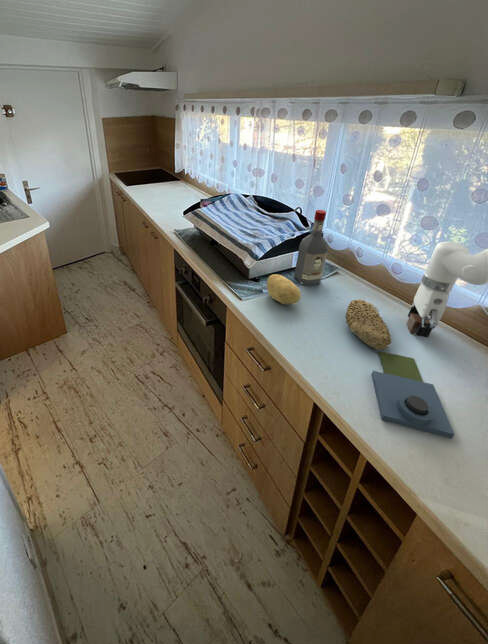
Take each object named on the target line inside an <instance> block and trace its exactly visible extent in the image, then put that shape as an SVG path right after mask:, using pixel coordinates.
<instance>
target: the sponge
mask: <svg viewBox="0 0 488 644" xmlns="http://www.w3.org/2000/svg"><path fill="white" fill-rule="evenodd" d="M379 311H380V310H379V309H378V307H376V306H375V305H374V304H373V303H371V302H368V301H365V300H364V299H360V298H358V299H353V300H350V302H349V304H348V305H347V308H346V313H345V321H346V324H347V327H348V328H349V329H350V331H351V332H352V333H353V334H354V335H356V336H357V337H358V338H359V339H360V340H361V341H362V342H364V343H365V344H366V345H367V346H369V347H371V348H373V349H375V350H387V348H388V346H389V345H390V344H392V335H391V332H390V330H389V328H388V326H387V324H386V323H385V321H384V318H382V316H381V314H380V313H379Z"/></svg>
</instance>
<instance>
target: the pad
mask: <svg viewBox="0 0 488 644" xmlns="http://www.w3.org/2000/svg"><path fill="white" fill-rule="evenodd" d="M378 354H379V358H380V363H381V367H382V370H383V373H386V374H390V375H394V376H399V377H403V378H408V379H412V380H416V381H421V382H424V380H423V378H422V375H421V373H420V369H419V368H418V365H417V363H416V360H415V358H413V357H409V356H404V355H399V354H395V353H390V352H385V351H381V350H379V351H378Z"/></svg>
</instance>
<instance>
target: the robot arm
mask: <svg viewBox="0 0 488 644" xmlns="http://www.w3.org/2000/svg"><path fill="white" fill-rule="evenodd" d="M458 278H459V279H460V280H462V281H464V282H466V283H468V284H471V285H474V286H475V285H476V286H482V285H486V284H488V248H486V249H484V250H481V251H479V252H477V253H475V254H470V250H469V248H467V246H465V245H464V244H461V243H458V242H455V241H454V242H453V241H440V242H438V243H437V244H436V245H435V247H434V249H433V252H432V254H431V256H430V259H429V261H428V264H427V265H426V268H425V270H424V273H423V275H422V277H421V280H420V285H419V287H418V289H417V290H416V291H415V295H414V297H413V302H412V303H411V307H410V309H409V311H408V315H407V317H408V318H409V316H410V314H411V313H413V314H419V315H420V316H421V317H422V325H420V326H419V328H418V330H417V332H416V334H415V335H416V336H417V337H422V338H429V337H430V335H431V332H432V330H434V329H435V328H436V327H437V326H438V325H439V322H440V321H441V320H442V318H443V315H444V312H445V310H446V307H447V305H448V300H449V297H450V293H451V292H452V290H453V288H454V286H455V284H456V282H457V279H458ZM426 316H427V317H426ZM426 319H427V320H430V323H426Z"/></svg>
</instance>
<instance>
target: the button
mask: <svg viewBox="0 0 488 644" xmlns="http://www.w3.org/2000/svg"><path fill="white" fill-rule="evenodd" d="M406 406H407V408H408V409H409V410H410V411H412V412H413V413H415V414H417V415H425V414H426V412H427V410H428V404H427V403H426V402H425V401H424V400H423V399H422V398H420V397H418V396H409V397H408V399H407V401H406Z"/></svg>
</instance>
